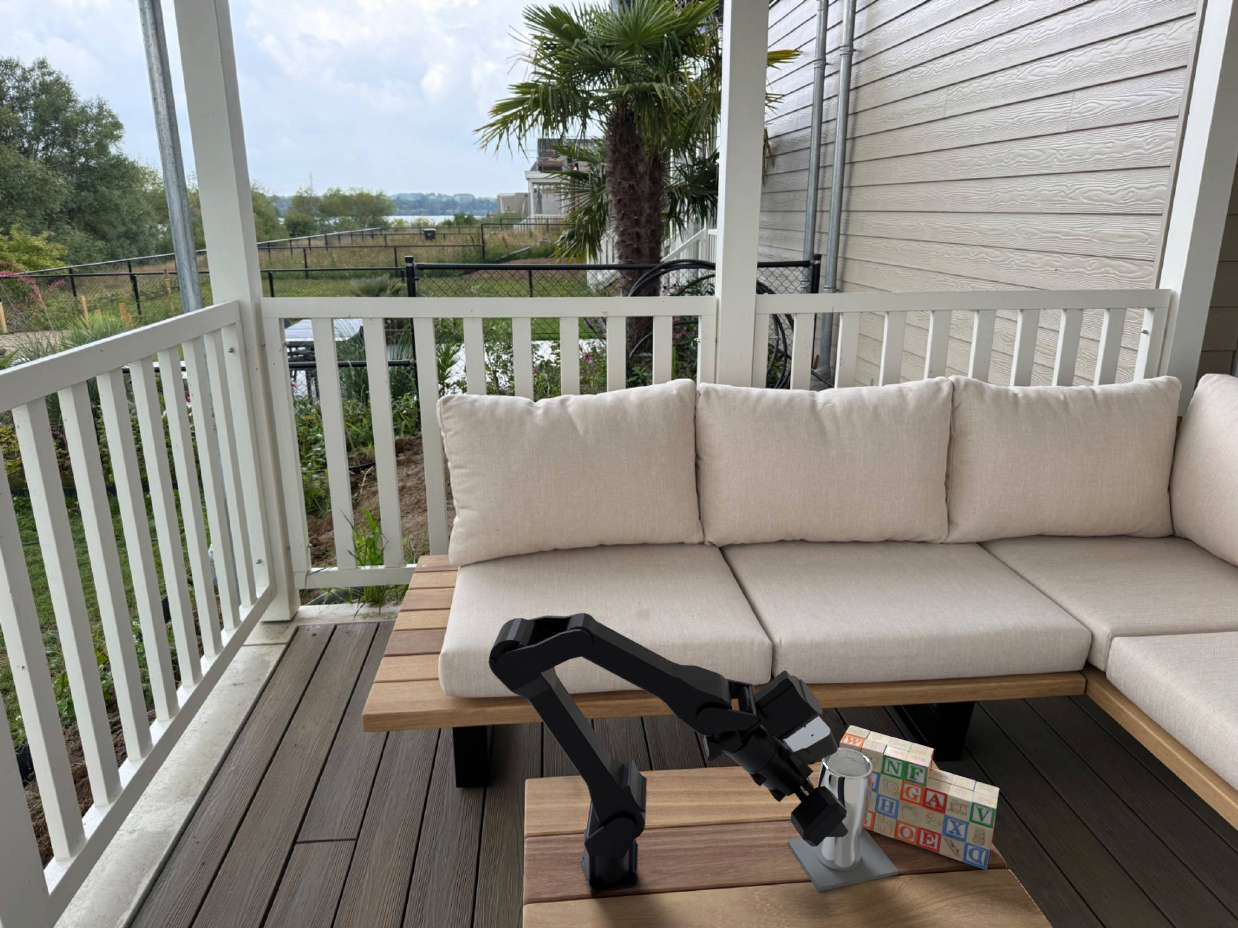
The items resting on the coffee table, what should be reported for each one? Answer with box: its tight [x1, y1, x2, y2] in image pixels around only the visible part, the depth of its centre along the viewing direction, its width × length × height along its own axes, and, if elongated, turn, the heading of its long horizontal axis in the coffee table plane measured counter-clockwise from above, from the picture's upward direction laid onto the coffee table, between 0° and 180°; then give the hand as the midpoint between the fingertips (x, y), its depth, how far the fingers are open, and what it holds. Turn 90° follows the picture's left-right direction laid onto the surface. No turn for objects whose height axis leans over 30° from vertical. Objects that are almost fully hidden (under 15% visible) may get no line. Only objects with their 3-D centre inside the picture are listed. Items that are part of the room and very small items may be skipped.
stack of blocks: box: [838, 724, 1000, 871], centre depth 116 cm, size 21×6×12 cm, turn 60°
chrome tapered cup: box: [816, 747, 873, 872], centre depth 110 cm, size 7×7×15 cm
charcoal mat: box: [787, 828, 899, 892], centre depth 112 cm, size 12×9×1 cm
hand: (827, 810), depth 109 cm, fingers open, 9 cm apart
